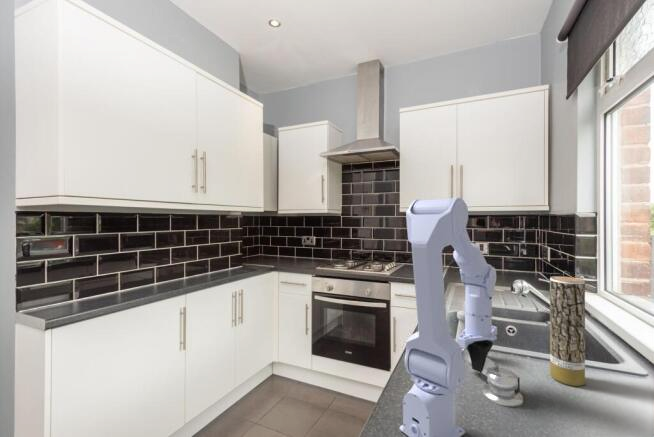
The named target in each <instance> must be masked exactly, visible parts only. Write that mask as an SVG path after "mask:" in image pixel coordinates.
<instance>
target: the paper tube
mask: <svg viewBox="0 0 654 437" xmlns="http://www.w3.org/2000/svg"><path fill="white" fill-rule="evenodd" d="M549 348H550V349H549V368H550V370H549V371H550V374H549V375H550V376H551V378H553V380H555V381H557V382H559V383H561V384H563V385H565V386H572V387H581V386H583V385H584V384H585V383H586V283H585V280H584V279H582V278H577V277H572V276H571V277H570V276H559V275H558V276H550V278H549Z"/></svg>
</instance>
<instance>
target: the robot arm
mask: <svg viewBox="0 0 654 437" xmlns="http://www.w3.org/2000/svg"><path fill="white" fill-rule="evenodd" d="M405 215H406V217H405V218H406V230H407V240H408V242H409V243H411V252H412V254H411V256H412V264H413V267H412V268H413V278H414V281H413V282H414V291H415V292H414V293H415V304H416V305H415V306H416V317H417V328H418V329H417V330H418V331H416V332H414V333H413V334H411V335H410V336H409V337H408V339H407V340H406V342H405V344H406V347H405V348H406V349H405V354H404V367H405V370H406V372H407V373H408V374H410V381H412V382H413V385H412V388H411V389H410V390H409V391H408V392H407V393H406V394H405V395H404V396H403V400H402V425H400V426H399V430H400V431H401V432H402V433H404V434H405V435H406V436H408V437H462V436H463V435H465V434H466V430H465V429H464V428H462V427H461V426H459V425H458V424H456V399H455V398H456V395H455V394H456V393H455V392H457V391H458V390H460V389H461V387H462V386H463V384H464V382H465V378H466V374H467V373H466V372H467V370H466V369H467V367H466V362H464V360H463V357H462V351H461V347H463V348H467V350H468V352H469V355H470V359H471V365H472V366H471V365H470V366H471V368H472V370H474V371H476V372H478V373H481V372H482V371H483V367H484V364H485V360H486V357H487V356H488V354H489V352H490V351H491V349H492V348H493V346H494V345H493V344H494V343H493V341H497V338H498V337H497V335H498V326H495V325H492V324H493V321H492V319H493V318H492V317H493V316H492V315H493V314H492V313H493V296H494V294H495V287H496V286H495V285H496V282H497V271H496V268H495V267H494V266H492V265H491V264H488V263H487V260H486V259H485V256H484V255H483V252H482V251H481V249H480V247H479V246H478V245H477V244H476V243H473V242H471V239H470V236H469V234H468V231H467V224H468V221H469V210H468V205H467V203H466V202H465V200H464V199H463V198H462V197H455V198H439V199H437V198H436V199H414V200H413V201H412V202H411V203H410V205H409V207H408V209H407V210H406V211H405ZM448 246H451V247H452V248H453V249H454V251H453V254H452V255H453V256H452V257H453V259H454V261H455V262H456V264H457V266H458V267H459V275H460V281H461V283H462V284H463V285H464V286H465V287H464V288H465V294H464V295H465V298H464V299H465V300H464V301H465V304H464V310H465V329H464V331H463V332H462V333H461V335H460V336H459V337H457V342H456V341H455V340H456V339H454V338H453V336H451V335H450V334H449V332H448V323H447V322H448V321H447V308H446V306H447V305H446V296H445V282H444V279H445V278H444V267H443V264H444V263H443V250H444V249H445V247H448ZM487 358H488V357H487Z"/></svg>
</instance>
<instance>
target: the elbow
mask: <svg viewBox="0 0 654 437" xmlns="http://www.w3.org/2000/svg"><path fill="white" fill-rule="evenodd" d="M461 351H462V357H463V360H464V362H465V364H466V363H467V364H468V365H469V366H470V367H472V365H471V359H470V355H469V352H468V350H467V348H462V349H461ZM480 373H481V374H482V375H484V376H486V378H487V380H486V381H487V383H488V384H490V385H491V386H493V387H495V388H497V389H500V390H505V391H514V390H517V388H518V377H519V376H518V375H517V374H516V373H515V372H514V371H512V370H510V369H507V368H503V367H499V364H498V363H497V362H496V361H494V360H492V359H490V358H488V357H486V360H485V364H484V367H483V371H482V372H480Z"/></svg>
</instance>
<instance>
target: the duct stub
mask: <svg viewBox="0 0 654 437" xmlns="http://www.w3.org/2000/svg"><path fill="white" fill-rule="evenodd" d="M520 379H521V378H520V377H519V376H518V388H517V390H514V391H505V390H500V389H497V388H495V387H493V386H491V385H490V384H489V383H488V384H485V385H484V386H482V389H481V390H482V395H483V396H484V398H486V399H487V400H488V401H490V402H492V403H494V404H496V405H499V406H503V407H506V408H507V407H508V408H509V407H510V408H518V407H520V406H522V405H523V403H524V396H523V395H522V394H521V393H520V389H521V388H520V386H521V384H520V382H521V381H520Z"/></svg>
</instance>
